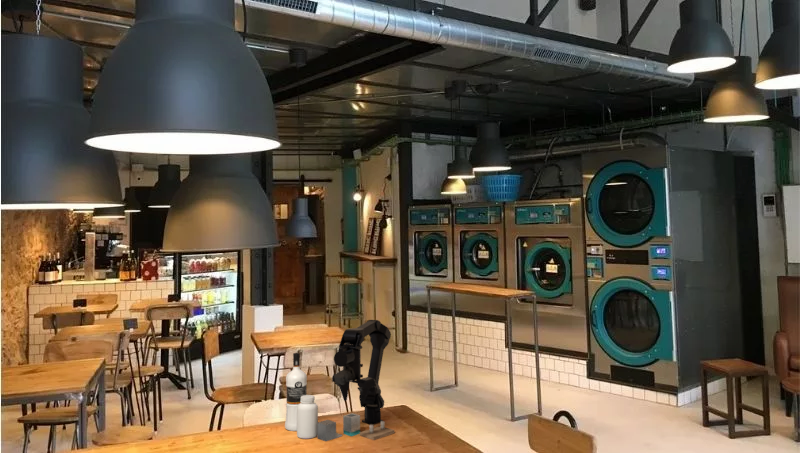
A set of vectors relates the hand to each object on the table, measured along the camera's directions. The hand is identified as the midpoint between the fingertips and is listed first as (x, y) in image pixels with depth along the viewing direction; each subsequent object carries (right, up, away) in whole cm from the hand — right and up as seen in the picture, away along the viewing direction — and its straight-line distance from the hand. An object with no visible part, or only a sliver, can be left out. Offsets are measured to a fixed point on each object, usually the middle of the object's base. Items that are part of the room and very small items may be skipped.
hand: (353, 402), depth 220 cm
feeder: (-9, -12, -5) cm, 15 cm away
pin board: (+9, -12, -1) cm, 15 cm away
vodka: (-24, -13, +7) cm, 28 cm away
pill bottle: (-18, -12, -2) cm, 22 cm away
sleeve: (-1, -12, 0) cm, 12 cm away
